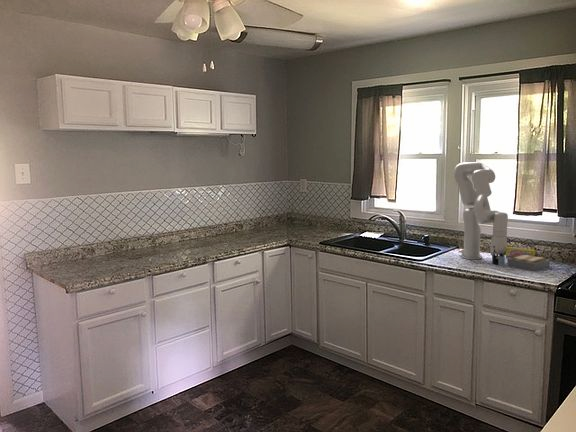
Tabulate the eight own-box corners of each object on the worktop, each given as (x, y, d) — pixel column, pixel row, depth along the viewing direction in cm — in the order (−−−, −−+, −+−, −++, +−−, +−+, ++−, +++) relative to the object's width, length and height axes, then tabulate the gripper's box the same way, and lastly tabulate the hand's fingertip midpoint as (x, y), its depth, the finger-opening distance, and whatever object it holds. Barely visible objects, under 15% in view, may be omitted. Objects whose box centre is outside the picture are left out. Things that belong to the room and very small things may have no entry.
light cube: (491, 264, 289) (492, 256, 288) (496, 263, 292) (496, 255, 291) (499, 266, 285) (500, 258, 284) (504, 265, 288) (504, 256, 287)
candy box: (504, 260, 302) (505, 246, 301) (506, 259, 303) (506, 246, 302) (533, 264, 291) (534, 250, 290) (534, 263, 292) (535, 249, 291)
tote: (507, 267, 283) (507, 259, 282) (522, 263, 292) (522, 255, 291) (534, 272, 270) (535, 264, 269) (549, 268, 279) (550, 259, 278)
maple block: (512, 265, 282) (512, 257, 281) (523, 262, 289) (524, 254, 288) (533, 269, 272) (533, 261, 272) (544, 266, 279) (544, 258, 279)
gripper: (501, 231, 294) (500, 261, 296) (485, 234, 284) (483, 265, 287) (513, 233, 288) (512, 263, 290) (497, 236, 278) (495, 267, 281)
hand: (498, 264), depth 288 cm, fingers closed on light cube, 4 cm apart
